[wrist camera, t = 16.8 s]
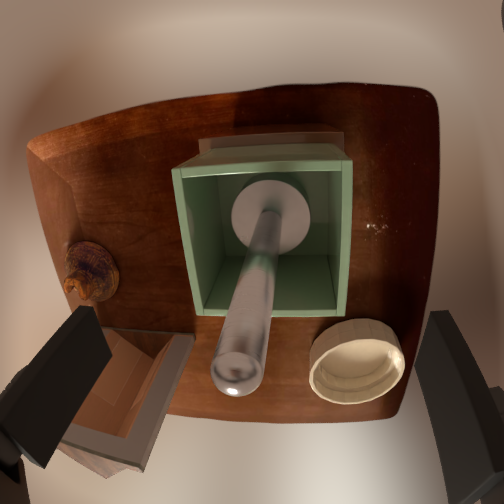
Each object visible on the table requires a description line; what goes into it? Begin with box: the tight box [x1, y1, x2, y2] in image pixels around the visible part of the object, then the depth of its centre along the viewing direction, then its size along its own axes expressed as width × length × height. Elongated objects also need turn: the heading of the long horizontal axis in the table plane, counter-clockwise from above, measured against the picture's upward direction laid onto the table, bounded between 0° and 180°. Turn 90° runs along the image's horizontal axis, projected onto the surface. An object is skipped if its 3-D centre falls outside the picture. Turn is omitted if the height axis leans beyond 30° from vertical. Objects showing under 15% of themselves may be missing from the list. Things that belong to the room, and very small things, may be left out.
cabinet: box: [57, 326, 195, 479], centre depth 47 cm, size 21×10×28 cm, turn 95°
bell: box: [64, 241, 119, 301], centre depth 49 cm, size 12×12×7 cm
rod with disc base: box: [210, 172, 311, 396], centre depth 18 cm, size 6×6×19 cm
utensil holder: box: [171, 123, 353, 317], centre depth 30 cm, size 12×12×25 cm
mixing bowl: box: [309, 318, 405, 404], centre depth 51 cm, size 16×16×6 cm
